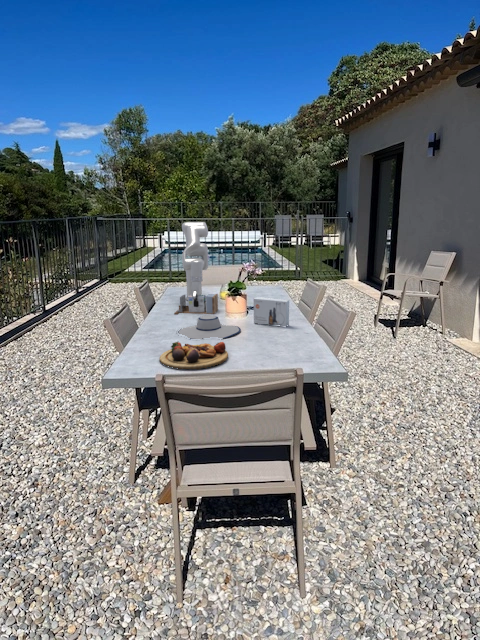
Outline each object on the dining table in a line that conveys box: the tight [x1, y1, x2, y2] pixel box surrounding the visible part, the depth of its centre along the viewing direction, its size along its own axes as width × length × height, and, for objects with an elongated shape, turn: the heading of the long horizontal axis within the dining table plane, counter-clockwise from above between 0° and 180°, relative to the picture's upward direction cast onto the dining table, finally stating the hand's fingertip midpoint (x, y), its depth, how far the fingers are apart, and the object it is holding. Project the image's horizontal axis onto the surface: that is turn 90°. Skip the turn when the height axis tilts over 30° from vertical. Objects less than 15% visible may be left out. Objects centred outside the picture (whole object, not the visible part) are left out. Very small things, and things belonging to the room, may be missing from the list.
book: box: [205, 293, 216, 313], centre depth 296 cm, size 9×5×11 cm, turn 171°
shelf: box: [173, 293, 219, 315], centre depth 298 cm, size 12×27×12 cm, turn 81°
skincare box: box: [253, 296, 290, 326], centre depth 266 cm, size 21×5×16 cm, turn 64°
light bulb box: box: [187, 294, 207, 312], centre depth 297 cm, size 11×7×11 cm, turn 83°
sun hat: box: [177, 314, 242, 340], centre depth 254 cm, size 36×36×9 cm
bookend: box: [176, 294, 187, 312], centre depth 299 cm, size 9×4×10 cm, turn 171°
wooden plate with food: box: [159, 341, 229, 370], centre depth 209 cm, size 32×32×8 cm
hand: (197, 305), depth 298 cm, fingers open, 7 cm apart
